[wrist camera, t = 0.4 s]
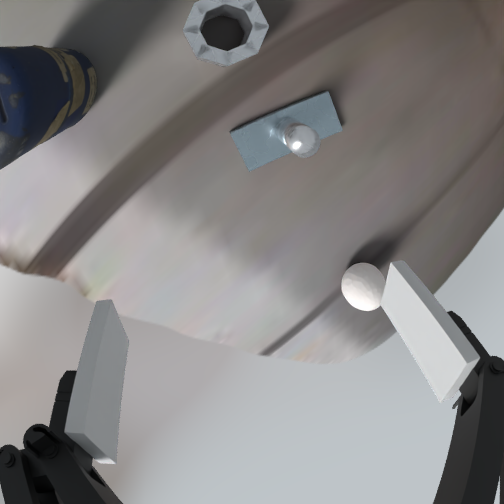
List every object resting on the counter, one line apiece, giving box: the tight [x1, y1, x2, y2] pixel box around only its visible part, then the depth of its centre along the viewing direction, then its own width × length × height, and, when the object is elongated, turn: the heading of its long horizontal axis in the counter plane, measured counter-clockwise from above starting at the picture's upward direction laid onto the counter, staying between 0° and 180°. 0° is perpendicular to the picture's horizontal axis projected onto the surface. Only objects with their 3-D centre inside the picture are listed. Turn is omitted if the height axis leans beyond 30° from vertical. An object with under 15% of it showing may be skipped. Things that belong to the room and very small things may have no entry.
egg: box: [341, 263, 386, 311], centre depth 44 cm, size 6×6×8 cm
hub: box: [183, 0, 269, 67], centre depth 25 cm, size 7×7×6 cm
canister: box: [0, 45, 97, 169], centre depth 20 cm, size 10×10×18 cm
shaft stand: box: [230, 91, 343, 172], centre depth 32 cm, size 5×12×7 cm, turn 114°
